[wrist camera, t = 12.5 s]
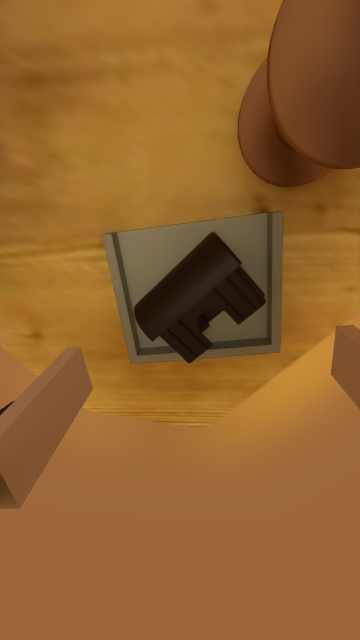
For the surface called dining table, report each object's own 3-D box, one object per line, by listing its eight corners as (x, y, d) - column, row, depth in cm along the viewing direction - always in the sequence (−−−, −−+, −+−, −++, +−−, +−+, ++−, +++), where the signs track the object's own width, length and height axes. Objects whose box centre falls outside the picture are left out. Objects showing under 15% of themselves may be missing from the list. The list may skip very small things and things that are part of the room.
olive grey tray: (277, 211, 25) (286, 210, 23) (275, 340, 30) (283, 352, 28) (108, 233, 27) (98, 235, 24) (133, 352, 32) (128, 364, 29)
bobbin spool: (365, 33, 20) (540, -153, 10) (350, 178, 24) (466, 150, 14) (235, 58, 21) (272, -89, 11) (239, 193, 25) (271, 178, 15)
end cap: (210, 227, 25) (215, 232, 19) (256, 280, 27) (275, 300, 21) (140, 295, 28) (125, 318, 22) (185, 339, 30) (183, 372, 23)
